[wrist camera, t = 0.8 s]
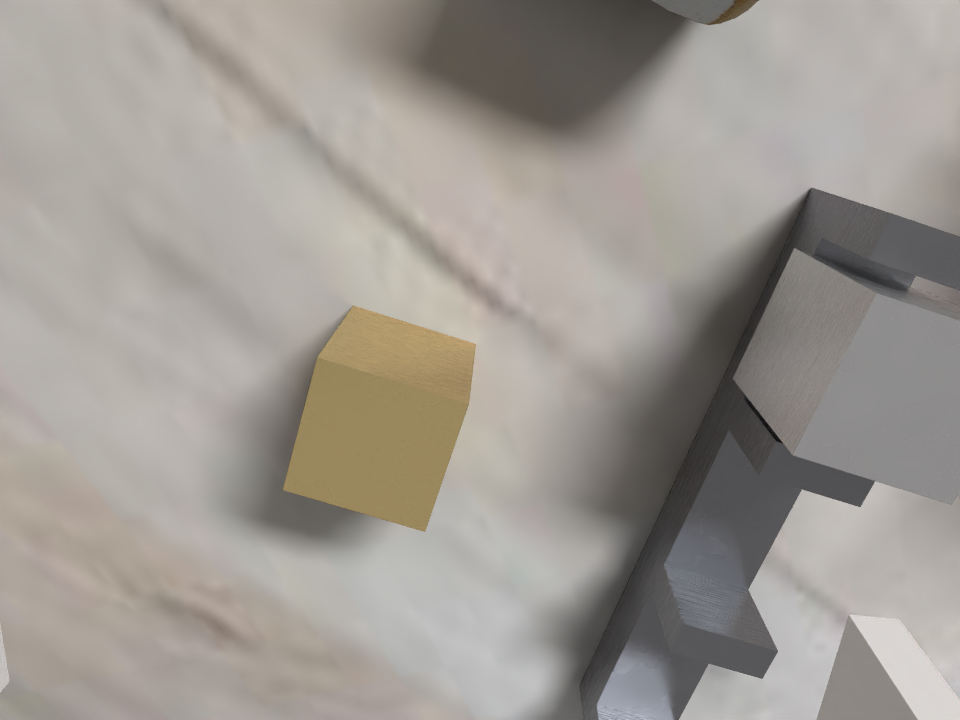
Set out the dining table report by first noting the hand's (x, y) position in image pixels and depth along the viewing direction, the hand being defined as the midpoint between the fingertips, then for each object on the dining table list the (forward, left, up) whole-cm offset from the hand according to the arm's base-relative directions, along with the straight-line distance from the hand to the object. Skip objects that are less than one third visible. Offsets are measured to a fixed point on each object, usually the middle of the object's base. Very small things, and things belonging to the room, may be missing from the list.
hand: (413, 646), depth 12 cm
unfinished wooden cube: (-2, -4, -19) cm, 19 cm away
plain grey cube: (+12, +4, -16) cm, 21 cm away
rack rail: (+12, -4, -19) cm, 22 cm away
